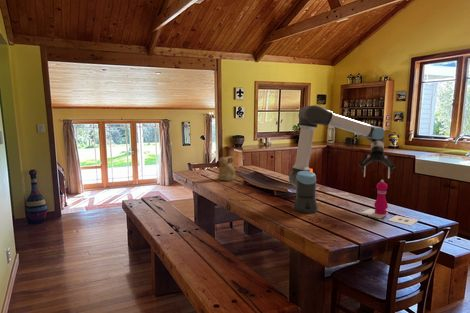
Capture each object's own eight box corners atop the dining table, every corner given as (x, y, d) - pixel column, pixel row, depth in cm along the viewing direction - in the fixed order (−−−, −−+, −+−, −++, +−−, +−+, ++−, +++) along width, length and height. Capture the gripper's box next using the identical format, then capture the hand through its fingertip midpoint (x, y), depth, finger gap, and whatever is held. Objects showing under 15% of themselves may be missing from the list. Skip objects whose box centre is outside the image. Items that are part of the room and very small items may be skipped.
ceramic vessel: (213, 180, 289) (213, 152, 286) (226, 176, 305) (226, 150, 302) (228, 182, 279) (228, 154, 276) (241, 178, 295) (241, 151, 292)
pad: (380, 218, 181) (380, 216, 181) (361, 214, 189) (361, 212, 189) (387, 214, 189) (387, 212, 189) (369, 210, 197) (369, 208, 197)
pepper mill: (371, 211, 191) (373, 178, 188) (382, 210, 192) (384, 178, 189) (377, 215, 184) (379, 181, 181) (389, 214, 185) (391, 180, 182)
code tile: (411, 225, 169) (411, 225, 169) (387, 220, 178) (387, 220, 178) (418, 220, 177) (418, 220, 177) (396, 215, 186) (396, 215, 186)
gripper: (398, 153, 204) (398, 181, 193) (356, 152, 214) (354, 178, 202) (399, 146, 199) (400, 174, 187) (356, 145, 208) (354, 171, 197)
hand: (376, 176), depth 195 cm, fingers open, 13 cm apart
